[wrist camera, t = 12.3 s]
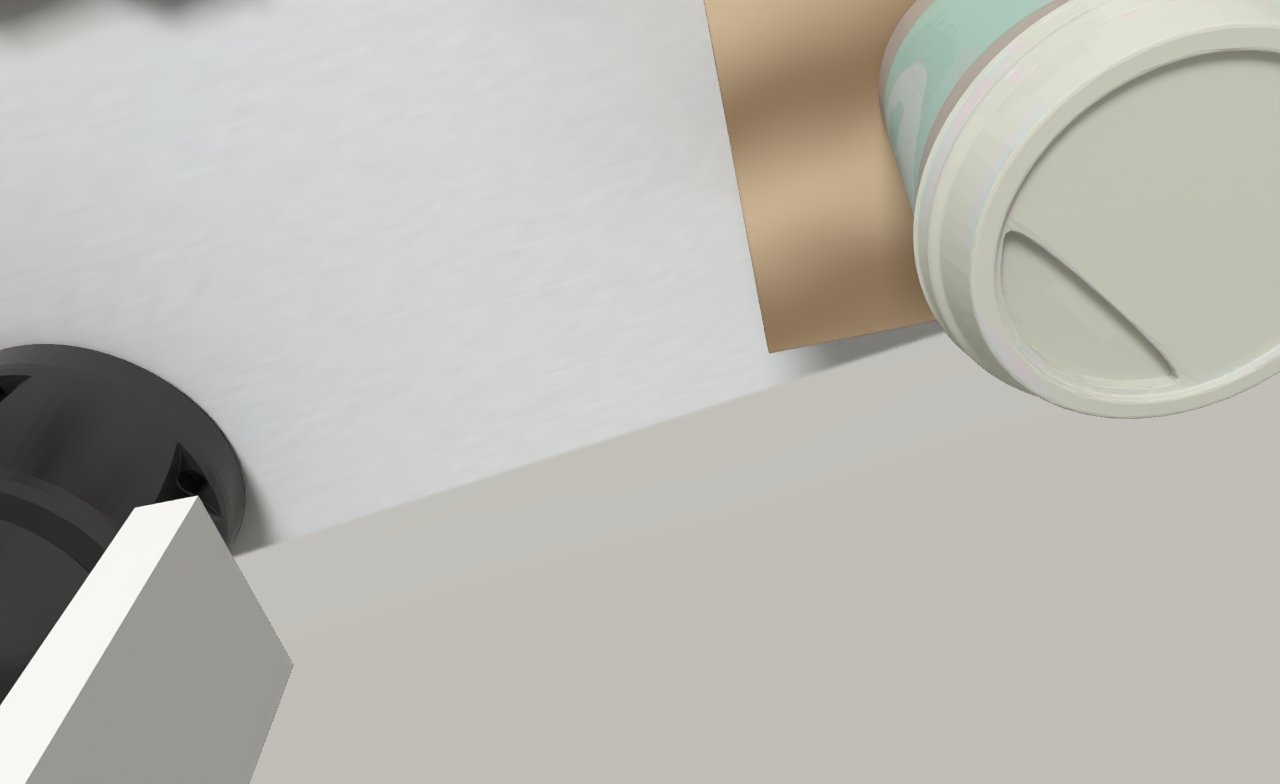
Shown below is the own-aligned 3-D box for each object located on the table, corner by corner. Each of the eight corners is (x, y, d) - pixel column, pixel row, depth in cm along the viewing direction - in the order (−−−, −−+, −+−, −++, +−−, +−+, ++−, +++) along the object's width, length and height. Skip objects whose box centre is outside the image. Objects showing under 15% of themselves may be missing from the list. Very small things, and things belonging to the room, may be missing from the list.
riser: (1095, 141, 40) (1248, 259, 30) (738, 217, 42) (769, 353, 32) (1101, -287, 33) (1308, -323, 23) (665, -172, 35) (675, -157, 24)
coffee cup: (795, -27, 26) (895, 91, 16) (1126, -147, 24) (1474, -103, 14) (864, 254, 30) (979, 491, 20) (1150, 166, 29) (1431, 373, 19)
